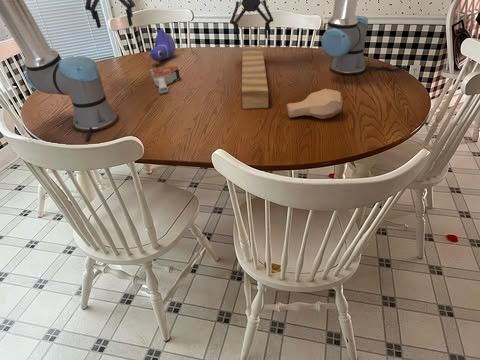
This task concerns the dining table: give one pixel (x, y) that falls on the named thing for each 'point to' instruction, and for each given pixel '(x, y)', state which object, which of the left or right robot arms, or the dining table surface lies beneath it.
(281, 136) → the dining table surface
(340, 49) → the right robot arm
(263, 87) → the slab
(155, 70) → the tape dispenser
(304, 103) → the squash
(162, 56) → the toy
